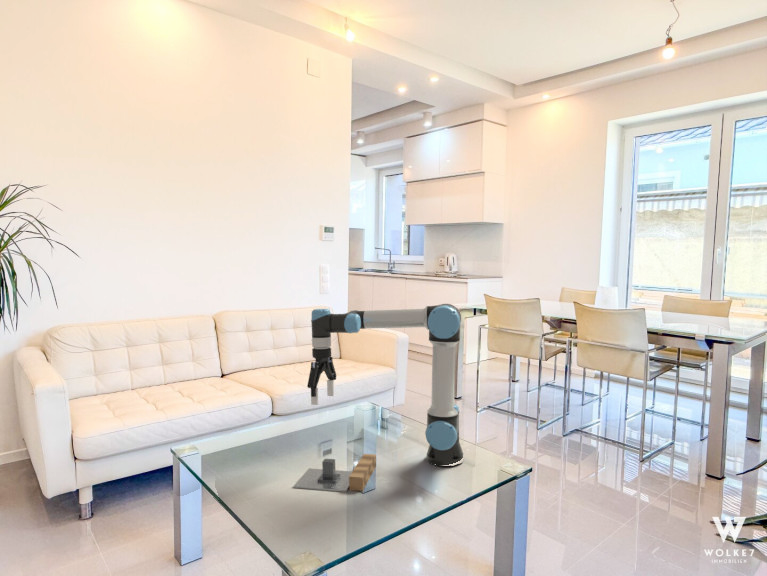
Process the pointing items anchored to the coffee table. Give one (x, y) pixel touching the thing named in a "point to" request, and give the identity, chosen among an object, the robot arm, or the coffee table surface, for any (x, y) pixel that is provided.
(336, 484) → the stand
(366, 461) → the walnut bar
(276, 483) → the coffee table surface
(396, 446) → the coffee table surface
